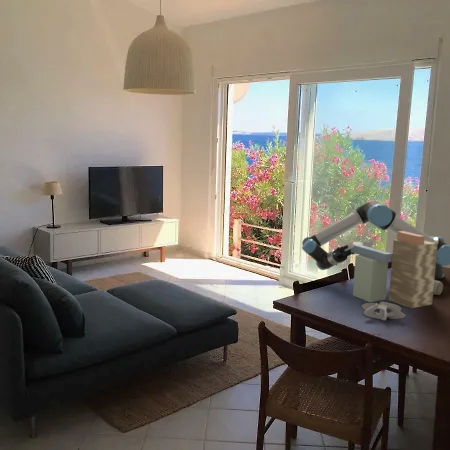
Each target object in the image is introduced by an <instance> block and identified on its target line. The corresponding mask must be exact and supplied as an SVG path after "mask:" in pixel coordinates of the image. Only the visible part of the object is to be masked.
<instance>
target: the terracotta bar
mask: <svg viewBox="0 0 450 450" xmlns="http://www.w3.org/2000/svg"><path fill="white" fill-rule="evenodd" d="M396 240H399V241H403V242H407V243H411V244H415V245H424V240H425V236H423V235H418V234H414V233H410V232H405V231H399V232H397V235H396Z"/></svg>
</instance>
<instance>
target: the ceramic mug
mask: <svg viewBox="0 0 450 450" xmlns="http://www.w3.org/2000/svg"><path fill="white" fill-rule="evenodd" d="M443 289H444V284H443V282H442V281H440V280H437V279H434V288H433V296H434V295H435V296H440V295H441V294H442V293H443Z"/></svg>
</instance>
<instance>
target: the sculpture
mask: <svg viewBox="0 0 450 450" xmlns="http://www.w3.org/2000/svg"><path fill="white" fill-rule="evenodd" d="M361 307H362V309H364V311H363V315H364V316H366V317H369V318H373V319H377V320H381V321H387V319H389V320H390V319H391V320H392V319H393V320H396V319H404V318H406V314H405V313H404V312H402V307H401V306H400V305H397V304H394V303H391V302H386V301H379V304H378V303H377V302H368V303H364V304H362V305H361ZM377 309H379V312H377V311H375V310H377ZM387 309H388V310H391V311H390V312H387Z"/></svg>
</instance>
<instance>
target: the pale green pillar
mask: <svg viewBox="0 0 450 450" xmlns="http://www.w3.org/2000/svg"><path fill="white" fill-rule="evenodd" d="M354 261H355V262H354V272H353V273H354V275H353V289H352V296H354V297H357V298H358V299H361V300H363V301H366V302H368V303H375V302H378V301H379V302H381V301H385V300H386V297H387V295H386V293H387V280H388V271H389V270H388V267H389V262H387V263H385V262H381V261H378V260H375V259H372V258H368V257H365V256H362V255H359V254H355V259H354Z"/></svg>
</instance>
